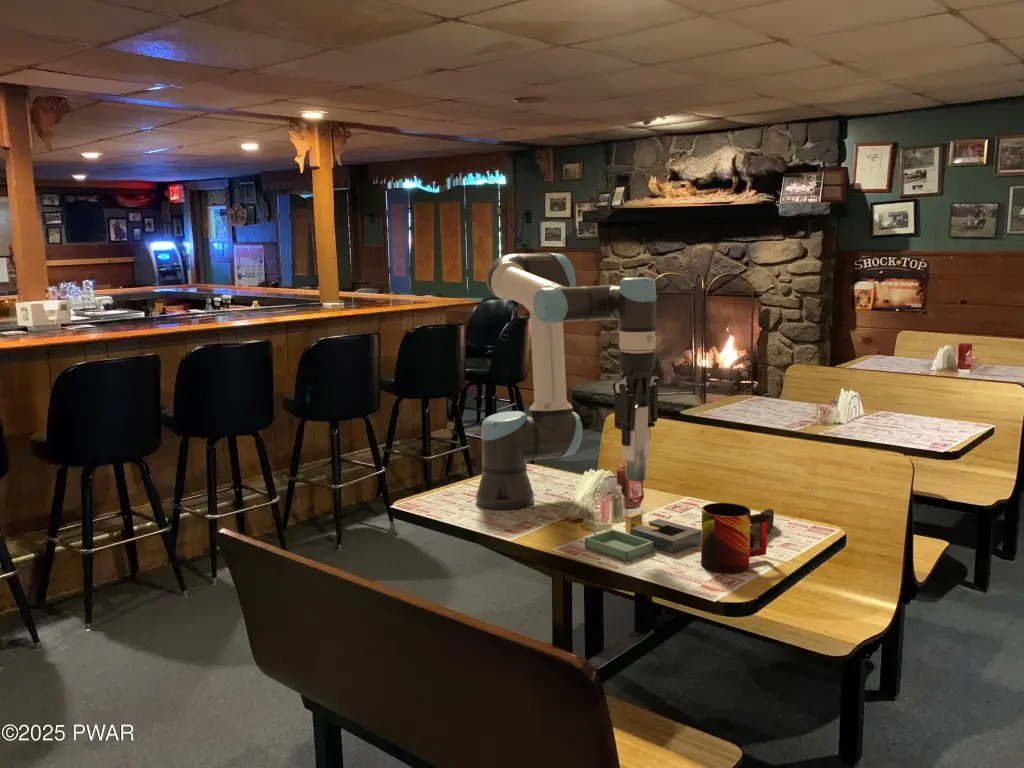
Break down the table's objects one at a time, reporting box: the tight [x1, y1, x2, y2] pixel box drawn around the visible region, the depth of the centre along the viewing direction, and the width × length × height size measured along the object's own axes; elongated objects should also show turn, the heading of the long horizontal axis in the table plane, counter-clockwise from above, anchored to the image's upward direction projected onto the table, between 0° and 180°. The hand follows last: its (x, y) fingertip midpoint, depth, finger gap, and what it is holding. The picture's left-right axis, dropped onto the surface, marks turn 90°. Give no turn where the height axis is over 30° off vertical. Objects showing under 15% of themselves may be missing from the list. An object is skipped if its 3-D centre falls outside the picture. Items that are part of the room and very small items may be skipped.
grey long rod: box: [625, 403, 648, 482], centre depth 180 cm, size 4×4×16 cm
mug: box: [700, 502, 768, 576], centre depth 173 cm, size 10×14×12 cm
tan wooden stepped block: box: [625, 511, 660, 534], centre depth 191 cm, size 8×4×4 cm, turn 41°
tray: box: [584, 528, 655, 563], centre depth 182 cm, size 12×9×2 cm
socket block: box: [629, 518, 702, 555], centre depth 186 cm, size 12×10×3 cm
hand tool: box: [750, 508, 775, 549], centre depth 189 cm, size 19×4×5 cm, turn 143°
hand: (635, 457), depth 181 cm, fingers closed on grey long rod, 4 cm apart
